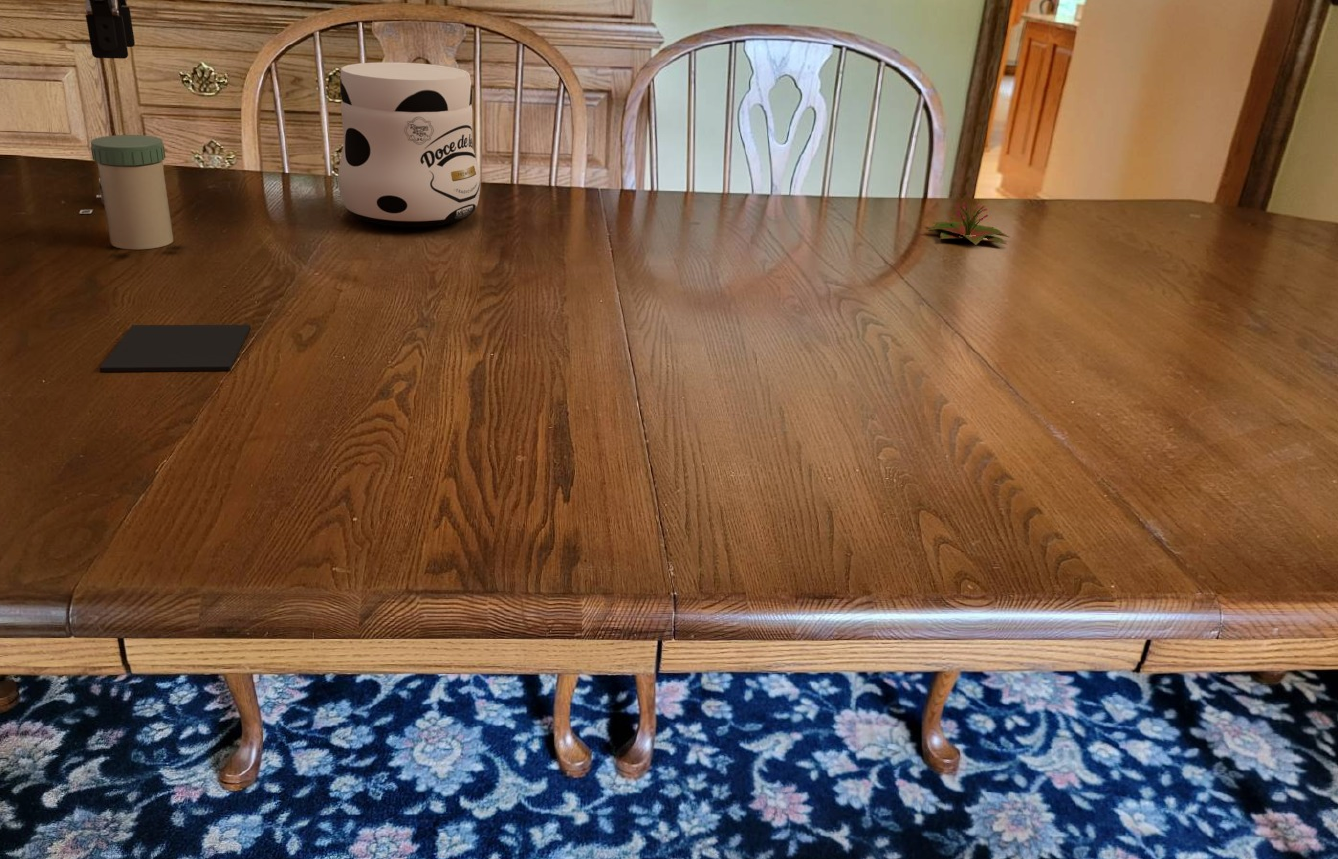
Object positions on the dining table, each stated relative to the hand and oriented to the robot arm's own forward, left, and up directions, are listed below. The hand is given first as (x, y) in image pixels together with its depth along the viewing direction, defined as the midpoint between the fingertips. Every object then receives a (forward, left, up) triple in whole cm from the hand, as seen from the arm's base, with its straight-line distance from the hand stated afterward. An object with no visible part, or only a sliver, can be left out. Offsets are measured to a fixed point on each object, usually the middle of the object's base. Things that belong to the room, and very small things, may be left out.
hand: (114, 51), depth 110 cm
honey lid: (0, 0, -10) cm, 10 cm away
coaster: (+11, -33, -20) cm, 40 cm away
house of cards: (-8, +17, -20) cm, 28 cm away
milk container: (+29, +12, -20) cm, 37 cm away
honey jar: (0, 0, -20) cm, 20 cm away
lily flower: (+103, +7, -20) cm, 105 cm away
